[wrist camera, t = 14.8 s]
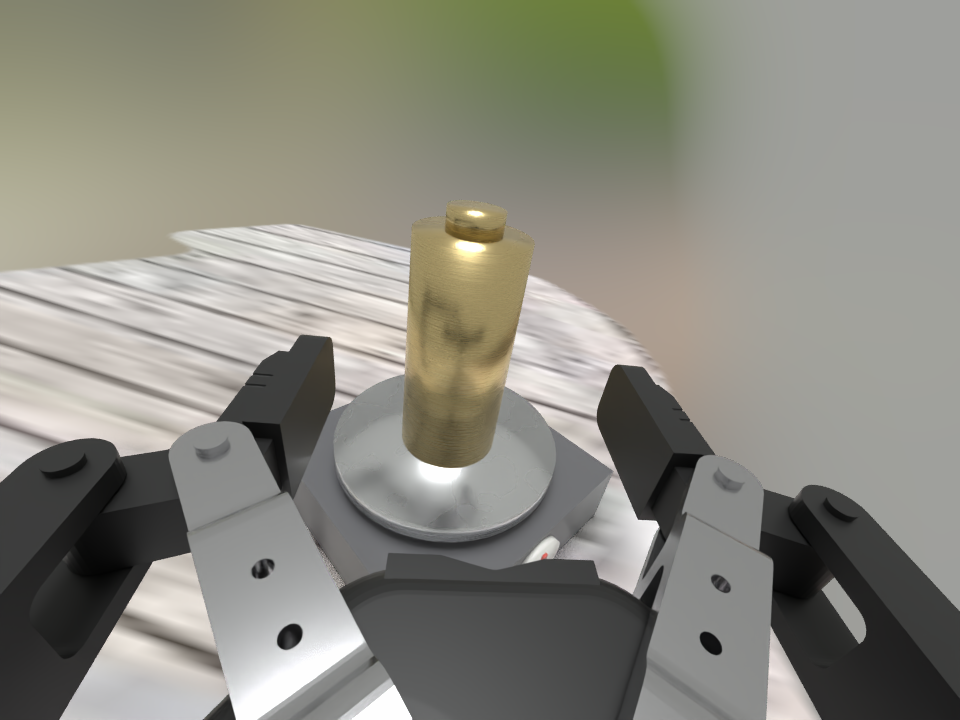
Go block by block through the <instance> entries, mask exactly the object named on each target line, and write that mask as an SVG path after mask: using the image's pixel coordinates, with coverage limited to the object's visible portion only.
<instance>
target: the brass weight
mask: <svg viewBox="0 0 960 720" xmlns="http://www.w3.org/2000/svg"><path fill="white" fill-rule="evenodd" d="M506 218H507V211H506V210H505V209H503V208H501V207H498V206H495V205H492V204H488V203H483V202H477V201H466V200H456V201H450V202H448V203H447V211H446V216H442V217H441V216H440V217H429V218H424V219H420V220H418V221H416V222H415V223H414V224H413V225H412V235H411V255H410V276H409V297H408V317H407V338H406V358H405V379H404V400H403V420H402V439H403V442H404V445H405V447H406V448H407V450H408V451H409V452H410V453H411V454H412V455H413V456H414V457H416V458H417V459H419V460H420V461H422V462H424V463H426V464H429V465H432V466H435V467H440V468H462V467H466V466H470V465H472V464H475V463H477V462H479V461H480V460H482V459H483V458H484V457H485V456H486V455H487V454H488V453H489V451H490V449H491V447H492V444H493V439H494V435H495V430H496V425H497V420H498V416H499V411H500V406H501V402H502V397H503V392H504V387H505V383H506V378H507V373H508V368H509V364H510V359H511V354H512V349H513V345H514V340H515V335H516V330H517V326H518V321H519V316H520V312H521V307H522V302H523V297H524V293H525V288H526V283H527V278H528V274H529V269H530V264H531V259H532V255H533V250H534V245H535V244H534V240H533V239H532V238H531V237H530V236H529V235H527V234H525V233H524V232H522V231H520V230H517V229H515V228H512V227H509V226H506V225H505V224H506Z"/></svg>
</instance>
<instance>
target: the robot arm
mask: <svg viewBox="0 0 960 720" xmlns="http://www.w3.org/2000/svg"><path fill="white" fill-rule="evenodd" d="M334 396H335V370H334V355H333V343H332V339H331V338H330V337H322V336H311V335H300V336H299V338H298V339H297V341H296V342H295V344H294V345H293V347H292V348H291V349H290V351H289V352H286V351H278V352H276V353H274V354H273V355H271V356H269V357H268V358H266V359H265V360H263V361H262V362H261V363H260V365H259V366H258V367H257V369H256V370H255V371H254V373H253V376H251V377H250V378H249V379H248V381H247V382H246V383H245V386H243V387H242V388H241V390H240V391H239V392H238V394H237V395H236V396H235V398H234V399H233V400H232V402H231V403H230V404H229V406H228V407H227V408H226V410H225V411H224V412H223V414H222V415H221V416H220V418H219V419H218V420H217V422H213V423H208V424H204V425H201V426H198V427H196V428H194V429H192V430H190V431H188V432H186V433H185V434H183V435H182V436H180V437H179V438H178V439H177V440H176V441H175V442H174V443H173V445H172V446H171V448H170V449H168V450H163V451H157V452H151V453H144V454H138V455H131V456H124V457H120V455H119V453H118V451H117V449H116V447H115V446H114V445H113V444H112V443H111V442H109V441H106V440H102V439H95V438H88V439H78V440H73V441H68V442H64V443H61V444H58V445H55V446H52V447H50V448H47V449H45V450H43V451H41V452H39V453H37V454H35V455H33V456H32V457H30V458H29V459H27V460H26V461H25V462H23V463H22V464H21V465H20V466H18V467H17V468H16V469H15V470H14V471H13V472H12V473H11V474H10V475H8V476H7V477H6V478H5V479H4V480H3V481H2V482H1V483H0V720H59V719H60V717H61V716H62V714H63V712H64V711H65V709H66V707H67V706H68V704H69V702H70V700H71V699H72V697H73V695H74V694H75V692H76V690H77V689H78V687H79V685H80V684H81V682H82V680H83V679H84V677H85V675H86V674H87V672H88V670H89V668H90V667H91V665H92V663H93V662H94V660H95V658H96V657H97V655H98V653H99V652H100V650H101V648H102V647H103V645H104V643H105V641H106V640H107V638H108V636H109V635H110V633H111V631H112V630H113V628H114V626H115V625H116V623H117V621H118V620H119V618H120V616H121V615H122V613H123V611H124V609H125V608H126V606H127V604H128V603H129V601H130V599H131V598H132V596H133V594H134V593H135V591H136V589H137V588H138V586H139V584H140V583H141V581H142V579H143V577H144V576H145V574H146V572H147V571H148V569H149V567H150V566H151V564H152V562H153V561H157V560H161V559H165V558H169V557H174V556H178V555H182V554H186V553H190V552H191V553H192V557H193V560H194V564H195V568H196V572H197V575H198V579H199V583H200V587H201V590H202V594H203V598H204V602H205V605H206V609H207V613H208V617H209V620H210V624H211V628H212V631H213V635H214V639H215V643H216V646H217V650H218V654H219V658H220V661H221V665H222V669H223V673H224V676H225V680H226V684H227V687H228V691H229V694H228V695H227V696H226V697H225V698H224V699H223V700H222V701H221V702H220V703H219V704H218V705H217V706H216V707H215V708H214V709H213V710H212V711H211V712H210V713H209V714H208V715H207V716H206V717H205V718H204V719H203V720H766V710H767V689H768V668H769V647H770V626H771V627H772V629H773V631H774V633H775V634H776V636H777V638H778V640H779V642H780V644H781V645H782V647H783V649H784V651H785V653H786V655H787V657H788V658H789V660H790V662H791V664H792V666H793V668H794V669H795V671H796V673H797V675H798V677H799V679H800V680H801V682H802V684H803V686H804V688H805V690H806V692H807V693H808V695H809V697H810V699H811V701H812V703H813V704H814V706H815V708H816V710H817V712H818V714H819V715H820V717H821V719H822V720H960V611H959V610H958V609H957V608H956V607H955V606H954V605H953V604H952V603H951V602H950V601H949V600H948V599H947V597H946V596H945V595H944V594H943V593H942V592H941V591H940V590H939V589H938V588H937V587H936V586H935V585H934V584H933V582H932V581H931V580H930V579H929V578H928V577H927V576H926V575H925V574H924V573H923V572H922V571H921V569H920V568H919V567H918V566H917V565H916V564H915V563H914V562H913V561H912V560H911V559H910V558H909V557H908V556H907V554H906V553H905V552H904V551H903V550H902V549H901V548H900V547H899V546H898V545H897V544H896V543H895V542H894V540H893V539H892V538H891V537H890V536H889V535H888V534H887V533H886V532H885V531H884V530H883V529H882V528H881V527H880V526H879V524H878V523H877V522H876V521H875V520H874V519H873V518H872V517H871V516H870V515H869V514H868V513H867V512H866V511H865V510H864V509H863V508H862V507H861V506H860V505H858V504H857V503H856V502H854V501H853V500H851V499H850V498H848V497H847V496H845V495H843V494H841V493H839V492H837V491H835V490H832V489H830V488H827V487H823V486H818V485H808V486H806V487H804V488H803V489H802V490H801V491H800V493H799V494H798V495H797V496H796V498H795V499H794V498H791V497H788V496H784V495H781V494H778V493H774V492H771V491H768V490H765V489H763V487H762V485H761V483H760V482H759V481H758V479H757V478H756V477H755V476H754V475H753V474H752V473H751V472H750V471H748V470H747V469H746V468H745V467H743V466H742V465H740V464H739V463H736V462H734V461H733V460H730V459H728V458H725V457H721V456H717V455H715V454H714V452H713V451H712V449H711V448H710V447H709V445H708V444H707V442H706V441H705V440H704V438H703V437H702V435H701V434H700V433H699V431H698V430H697V429H696V427H695V426H694V424H693V423H692V422H690V419H689V418H688V416H687V415H686V413H685V412H683V411H682V408H681V406H680V405H679V404H678V402H677V401H676V400H675V398H674V397H673V396H672V395H671V394H669V393H668V392H667V391H666V390H664V389H663V388H662V387H661V386H659V385H656V384H655V383H654V381H653V380H652V379H651V377H650V376H649V374H648V373H647V371H646V370H645V369H644V368H643V367H639V366H628V365H615V366H614V367H613V368H612V370H611V373H610V375H609V378H608V381H607V384H606V386H605V389H604V392H603V395H602V397H601V400H600V403H599V406H598V410H597V423H598V427H599V430H600V432H601V434H602V437H603V439H604V441H605V444H606V446H607V448H608V451H609V453H610V455H611V458H612V460H613V462H614V465H615V467H616V469H617V472H618V474H619V476H620V479H621V481H622V483H623V486H624V488H625V490H626V493H627V495H628V497H629V500H630V502H631V504H632V507H633V509H634V511H635V514H636V516H637V518H638V520H654V521H657V522H658V525H659V528H658V530H657V532H656V533H655V535H654V538H653V541H652V544H651V546H650V549H649V552H648V555H647V557H646V560H645V563H644V566H643V568H642V571H641V574H640V577H639V579H638V582H637V585H636V588H635V590H634V592H633V595H632V594H630V593H629V592H628V591H626V590H624V589H622V588H620V587H618V586H617V585H615V584H612V583H610V582H608V581H605V580H603V579H599V578H598V574H597V571H596V568H595V564H594V561H591V560H564V559H542V560H538V561H533V562H529V563H525V564H521V565H516V566H512V567H508V568H504V569H499V570H492V569H488V568H484V567H481V566H477V565H474V564H470V563H467V562H464V561H460V560H457V559H453V558H450V557H447V556H443V555H433V554H406V553H388V557H387V563H386V570H382V571H378V572H374V573H372V574H369V575H366V576H363V577H361V578H359V579H357V580H355V581H352V582H350V583H348V584H347V585H345V586H344V587H342V588H340V589H338V587H337V585H336V583H335V581H334V579H333V577H332V576H331V574H330V572H329V570H328V568H327V566H326V564H325V562H324V560H323V558H322V556H321V554H320V552H319V550H318V548H317V546H316V545H315V543H314V541H313V539H312V537H311V535H310V533H309V531H308V529H307V527H306V525H305V523H304V521H303V519H302V517H301V515H300V514H299V512H298V510H297V508H296V506H295V504H294V502H293V499H294V497H295V494H296V492H297V490H298V487H299V485H300V482H301V480H302V478H303V475H304V473H305V470H306V468H307V466H308V463H309V461H310V458H311V456H312V454H313V451H314V449H315V446H316V444H317V441H318V439H319V437H320V434H321V432H322V429H323V427H324V425H325V422H326V420H327V417H328V415H329V413H330V410H331V408H332V405H333V401H334ZM834 577H835V578H836V580H837V581H838V583H839V584H840V585H841V587H842V588H843V589H844V591H845V592H846V593H847V595H848V596H849V597H850V599H851V600H852V602H853V603H854V604H855V606H856V607H857V608H858V610H859V611H860V613H861V614H862V616H863V618H864V621H865V624H866V637H865V639H864V641H863V642H861V643H860V644H858V642H857V640H856V639H855V638H854V636H853V635H852V633H851V632H850V630H849V629H848V627H847V626H846V625H845V623H844V622H843V620H842V619H841V617H840V616H839V614H838V613H837V611H836V610H835V608H834V607H833V606H832V604H831V603H830V601H829V600H828V598H827V597H826V595H825V594H824V593H823V591H822V590H821V589H822V588H823V587H824V586H826V585H827V584H828V583H829V582H830V581H831V580H832V579H833V578H834Z"/></svg>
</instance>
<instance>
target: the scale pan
mask: <svg viewBox="0 0 960 720" xmlns="http://www.w3.org/2000/svg"><path fill="white" fill-rule="evenodd" d="M404 379H405V374H404V375H400V376H396V377H393V378H390V379H387V380H385V381H382V382H380V383H378V384H376V385H374V386H372V387H370V388H369V389H367V390H366V391H364V392H363V393H361V394H360V395H359V396H357V397H356V398H355V399H354V400H353V401H352V402H351V403H350V404H349V405H348V407H347V408H346V409H345V410H344V412H343V414H342V415H341V417H340V419H339V421H338V424H337V426H336V429H335V434H334V459H335V468H336V472H337V477H338V479H339V481H340V484H341V486H342V488H343V490H344V491H345V493H346V494H347V496H348V497H349V499H350V500H351V501H352V502H353V503H354V504H355V506H356V507H357V508H358V509H359V510H360V511H361V512H363V513H364V514H365V515H367V516H368V517H369V518H370V519H372V520H373V521H375V522H377V523H378V524H380V525H382V526H383V527H385V528H387V529H390V530H392V531H394V532H397V533H399V534H402V535H405V536H409V537H412V538H416V539H420V540H427V541H433V542H465V541H473V540H478V539H482V538H487V537H490V536H493V535H496V534H499V533H501V532H504V531H506V530H508V529H509V528H511V527H513V526H515V525H517V524H518V523H520V522H521V521H522V520H524V519H525V518H526V517H528V516H529V515H530V514H531V513H532V512H533V511H534V510H535V509H536V508H537V506H538V505H539V504H540V502H541V501H542V499H543V498H544V496H545V494H546V492H547V489H548V487H549V484H550V481H551V478H552V475H553V471H554V468H555V463H556V448H555V442H554V439H553V435H552V433H551V431H550V429H549V426H548V425H547V423H546V421H545V420H544V418H543V417H542V416H541V414H540V413H539V412H538V411H537V410H536V409H535V408H534V407H533V406H532V405H531V404H530V403H529V402H528V401H527V400H525V399H524V398H523V397H521V396H520V395H519V394H517V393H515V392H514V391H512V390H510V389H509V388H507V387H504V392H503V397H502V402H501V406H500V411H499V416H498V420H497V425H496V430H495V435H494V439H493V444H492V447H491V449H490V451H489V453H488V454H487V455H486V456H485V457H484V458H483V459H482V460H480V461H479V462H477V463H475V464H472V465H470V466H466V467H462V468H440V467H435V466H432V465H429V464H426V463H424V462H422V461H420V460H419V459H417V458H416V457H414V456H413V455H412V454H411V453H410V452H409V451H408V450H407V448H406V447H405V445H404V442H403V439H402V420H403V400H404Z"/></svg>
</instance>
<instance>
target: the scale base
mask: <svg viewBox="0 0 960 720" xmlns="http://www.w3.org/2000/svg"><path fill="white" fill-rule="evenodd" d="M349 404H350V403H349ZM349 404H347V405H344V406H342V407H339V408H337V409H334V410H332V411H330V413H329V415H328V417H327V420H326V422H325V425H324V427H323V429H322V432H321V434H320V437H319V439H318V441H317V444H316V446H315V449H314V451H313V454H312V456H311V458H310V461H309V463H308V466H307V468H306V470H305V473H304V475H303V478H302V480H301V482H300V485H299V487H298V490H297V492H296V494H295V497H294V499H293V502H294V504H295V506H296V508H297V510H298V512H299V514H300V515H301V517H302V519H303V521H304V522H305V524H306V525H307V527H308V528H309V530H310V531H311V533H312V534H313V536H314V537H315V539H316V540H317V542H318V543H319V545H320V546H321V548H322V549H323V551H324V552H325V554H326V555H327V557H328V558H329V560H330V561H331V563H332V564H333V566H334V567H335V569H336V570H337V572H338V573H339V575H340V576H341V578H342V579H343V581H344V582H345V584H346V585H347V584H348V583H350V582H352V581H355V580H357V579H359V578H361V577H363V576H366V575H369V574H372V573H374V572H378V571H382V570H386V563H387V557H388V553H406V554H433V555H443V556H447V557H450V558H453V559H457V560H460V561H464V562H467V563H470V564H474V565H477V566H481V567H484V568H488V569H492V570H499V569H504V568H508V567H512V566H516V565H521V564H525V563H529V562H533V561H538V560H542V559H554V557H555V555H556V553H557V552H558V551H559V550H560V549H561V548H562V547H563V546H564V545H565V544H566V543H567V542H568V541H569V540H570V539H571V538H572V537H573V536H574V535H575V534H576V533H577V532H578V531H579V530H580V529H581V528H582V527H583V526H584V525H585V524H586V523H587V522H588V521H589V519H590V518H591V517H592V516H593V515H594V514H595V512H596V510H597V507H598V505H599V503H600V501H601V498H602V496H603V494H604V492H605V489H606V487H607V485H608V482H609V480H610V478H611V476H612V473H613V471H612V470H611V469H609V468H608V467H607V466H605V465H604V464H602V463H601V462H599V461H598V460H597V459H595V458H594V457H592V456H591V455H589V454H588V453H587V452H585V451H584V450H582V449H581V448H579V447H578V446H577V445H575V444H574V443H572V442H571V441H569V440H568V439H567V438H565V437H564V436H562V435H561V434H559V433H558V432H557V431H555V430H554V429H552V428H551V427H549V429H550V431H551V433H552V435H553V439H554V442H555V448H556V463H555V468H554V471H553V475H552V478H551V481H550V484H549V487H548V489H547V492H546V494H545V496H544V498H543V499H542V501H541V502H540V504H539V505H538V506H537V508H536V509H535V510H534V511H533V512H532V513H531V514H530V515H529V516H528V517H526V518H525V519H524V520H522V521H521V522H520V523H518V524H517V525H515V526H513V527H511V528H509V529H508V530H506V531H504V532H501V533H499V534H496V535H493V536H490V537H487V538H482V539H478V540H473V541H465V542H433V541H427V540H420V539H416V538H412V537H409V536H405V535H402V534H399V533H397V532H394V531H392V530H390V529H387V528H385V527H383V526H382V525H380V524H378V523H377V522H375V521H373V520H372V519H370V518H369V517H368V516H367V515H365V514H364V513H363V512H361V511H360V510H359V509H358V508H357V507H356V506H355V504H354V503H353V502H352V501H351V500H350V499H349V497H348V496H347V494H346V493H345V491H344V490H343V488H342V486H341V484H340V481H339V479H338V477H337V472H336V468H335V459H334V434H335V429H336V426H337V424H338V421H339V419H340V417H341V415H342V414H343V412H344V410H345V409H346V408H347V407H348V405H349Z"/></svg>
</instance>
